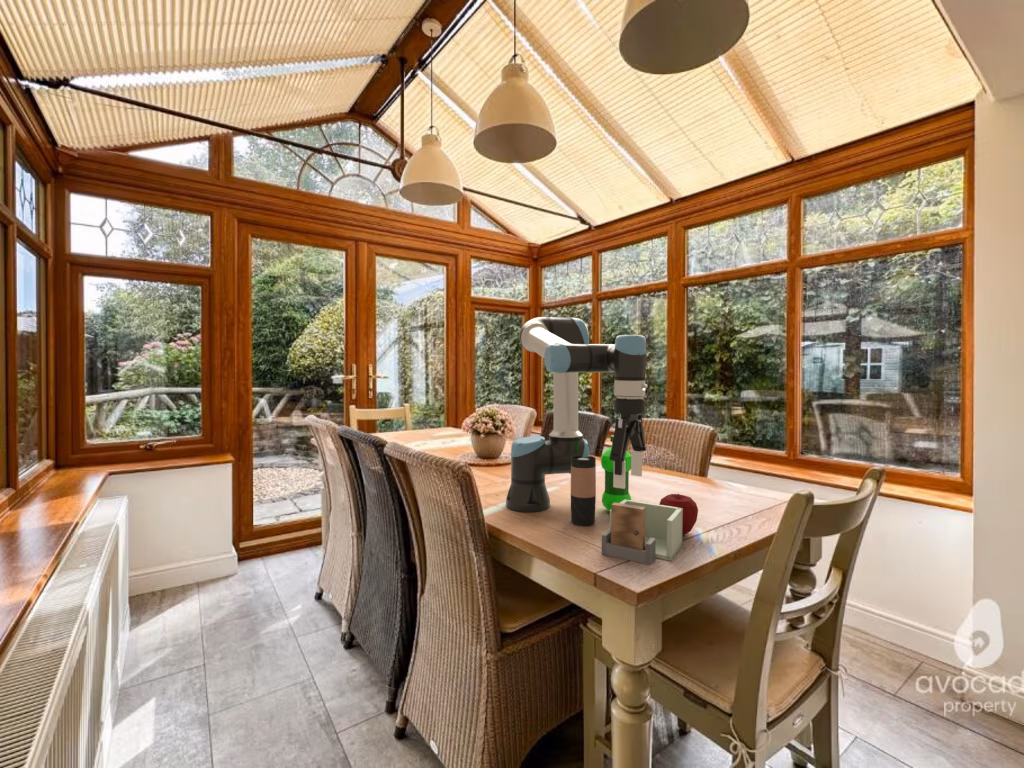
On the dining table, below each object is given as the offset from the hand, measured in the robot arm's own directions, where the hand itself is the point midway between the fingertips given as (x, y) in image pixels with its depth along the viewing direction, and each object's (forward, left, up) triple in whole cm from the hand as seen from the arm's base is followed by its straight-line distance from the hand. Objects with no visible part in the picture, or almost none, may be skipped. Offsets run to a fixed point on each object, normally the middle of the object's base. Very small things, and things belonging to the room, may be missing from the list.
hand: (628, 481), depth 118 cm
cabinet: (+2, +6, -19) cm, 20 cm away
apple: (+7, +23, -19) cm, 30 cm away
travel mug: (-20, +18, -19) cm, 33 cm away
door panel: (0, -1, -19) cm, 19 cm away
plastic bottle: (-15, +34, -19) cm, 41 cm away
